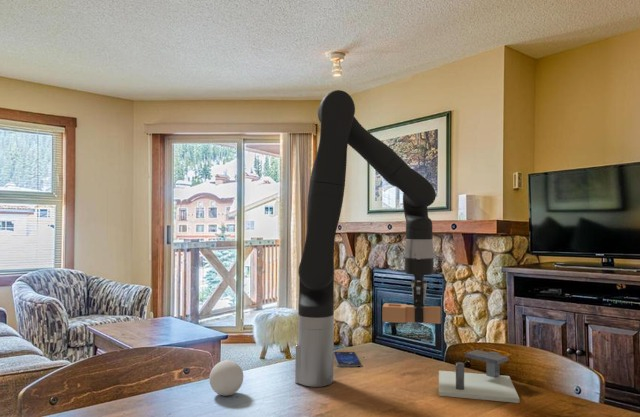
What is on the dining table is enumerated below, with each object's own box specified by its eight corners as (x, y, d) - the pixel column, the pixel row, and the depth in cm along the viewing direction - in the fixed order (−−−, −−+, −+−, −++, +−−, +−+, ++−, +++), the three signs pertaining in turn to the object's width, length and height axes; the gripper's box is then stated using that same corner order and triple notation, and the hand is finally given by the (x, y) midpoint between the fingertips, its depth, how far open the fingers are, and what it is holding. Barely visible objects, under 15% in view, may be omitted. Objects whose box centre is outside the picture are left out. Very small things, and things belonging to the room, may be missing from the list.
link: (440, 320, 128) (440, 305, 129) (440, 324, 123) (440, 309, 123) (384, 317, 132) (384, 303, 132) (382, 321, 126) (382, 306, 126)
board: (438, 395, 114) (438, 391, 114) (438, 374, 130) (438, 370, 130) (519, 402, 109) (519, 398, 109) (509, 379, 126) (509, 376, 126)
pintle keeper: (455, 393, 115) (455, 364, 116) (454, 373, 131) (453, 348, 131) (514, 398, 112) (514, 368, 112) (505, 378, 127) (505, 351, 128)
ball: (233, 402, 108) (234, 367, 109) (202, 398, 111) (203, 363, 111) (248, 391, 116) (249, 357, 116) (219, 387, 118) (220, 355, 119)
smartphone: (355, 351, 151) (362, 365, 137) (355, 354, 151) (362, 368, 136) (332, 351, 151) (337, 365, 136) (332, 354, 151) (337, 368, 136)
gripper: (406, 254, 135) (406, 315, 135) (403, 257, 122) (403, 325, 121) (433, 255, 133) (433, 317, 133) (433, 258, 120) (433, 327, 119)
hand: (419, 320), depth 127 cm, fingers closed on link, 3 cm apart
